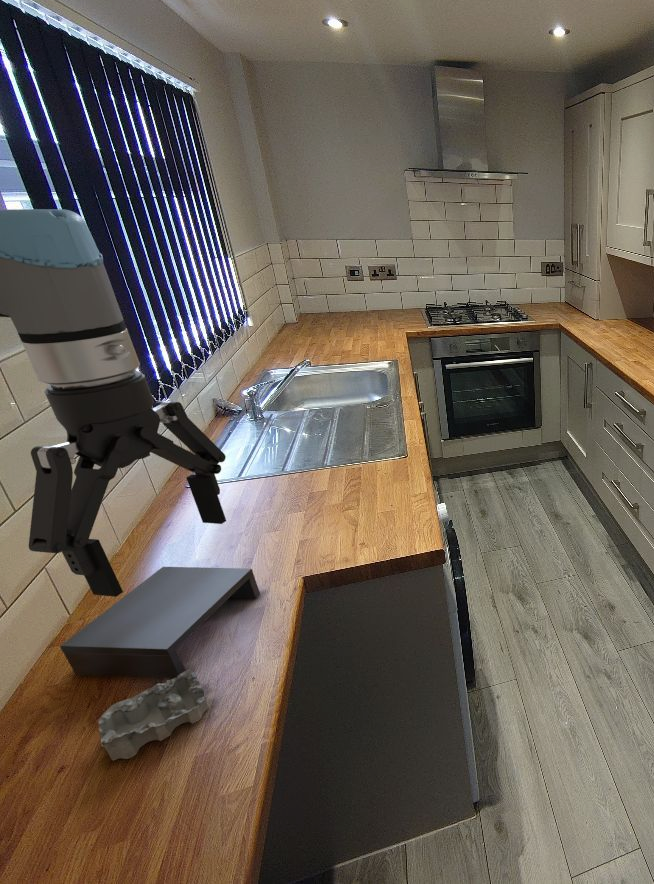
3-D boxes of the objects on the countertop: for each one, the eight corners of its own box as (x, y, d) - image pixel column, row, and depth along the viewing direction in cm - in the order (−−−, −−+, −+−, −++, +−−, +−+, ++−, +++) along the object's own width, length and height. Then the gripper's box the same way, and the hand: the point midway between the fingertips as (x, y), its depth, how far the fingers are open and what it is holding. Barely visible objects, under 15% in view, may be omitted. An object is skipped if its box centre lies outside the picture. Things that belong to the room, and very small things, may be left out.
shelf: (75, 674, 76) (59, 646, 74) (173, 591, 93) (162, 566, 91) (179, 678, 76) (166, 649, 73) (260, 593, 92) (251, 568, 90)
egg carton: (109, 771, 63) (95, 748, 61) (105, 730, 68) (92, 708, 66) (214, 715, 70) (204, 693, 68) (203, 682, 75) (194, 660, 73)
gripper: (-30, 426, 40) (82, 637, 49) (226, 347, 63) (272, 500, 71) (-108, 422, 41) (14, 630, 50) (172, 346, 64) (223, 497, 72)
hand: (167, 554), depth 60 cm, fingers open, 13 cm apart
